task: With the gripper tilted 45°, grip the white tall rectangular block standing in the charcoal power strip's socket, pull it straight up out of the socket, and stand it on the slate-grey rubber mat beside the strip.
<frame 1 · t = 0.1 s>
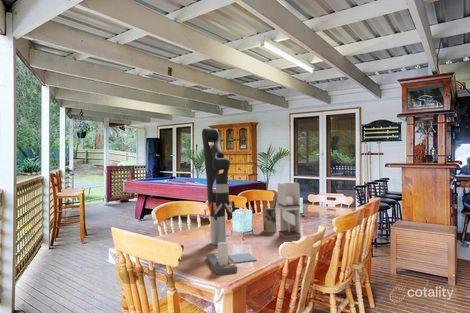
hand: (223, 219, 188), 17 cm above the table, tool pointing down, fingers open, 8 cm apart
mat: (242, 258, 170), on the table
power strip: (220, 265, 161), on the table
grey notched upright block: (289, 235, 218), on the table
coffee box: (270, 231, 230), on the table
white tall rectangular block: (223, 268, 156), resting in power strip
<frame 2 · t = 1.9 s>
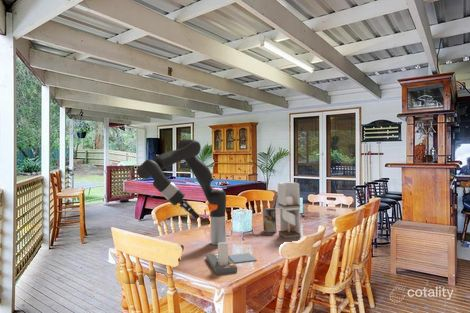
hand: (196, 216, 156), 26 cm above the table, tool tilted 45°, fingers open, 8 cm apart
nothing on the table moved.
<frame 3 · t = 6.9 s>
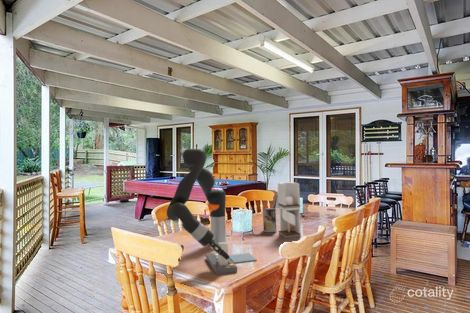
hand: (226, 256, 157), 6 cm above the table, tool tilted 45°, fingers closed on white tall rectangular block, 4 cm apart
white tall rectangular block: (223, 268, 156), resting in power strip, touching gripper
everything else where it was.
when the fingers open (7 cm above the table, at t = 13.3 s): white tall rectangular block stays where it is, resting on mat.
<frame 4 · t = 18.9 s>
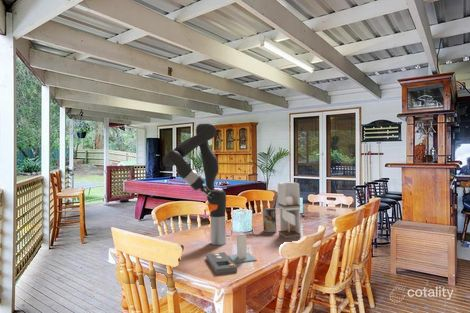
hand: (215, 199, 176), 31 cm above the table, tool tilted 45°, fingers open, 8 cm apart
white tall rectangular block: (241, 257, 170), point 1 cm above the table, touching mat
everything else where it was.
at the end: white tall rectangular block inside the target area on the mat (0.0 cm from its centre), point 0.6 cm above the mat's base; white tall rectangular block tilted 0°; the gripper is holding nothing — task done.
